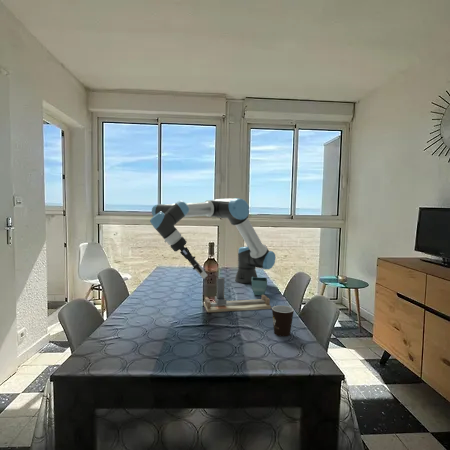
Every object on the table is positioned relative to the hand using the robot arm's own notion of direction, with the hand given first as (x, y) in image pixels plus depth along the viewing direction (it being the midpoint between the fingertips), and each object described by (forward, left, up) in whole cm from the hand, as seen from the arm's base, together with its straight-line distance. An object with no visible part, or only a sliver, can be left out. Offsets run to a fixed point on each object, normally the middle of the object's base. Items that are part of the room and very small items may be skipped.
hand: (203, 273), depth 159 cm
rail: (+2, +17, -17) cm, 24 cm away
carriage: (+2, +9, -14) cm, 17 cm away
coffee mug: (+36, +27, -17) cm, 48 cm away
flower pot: (-17, +35, -17) cm, 43 cm away
